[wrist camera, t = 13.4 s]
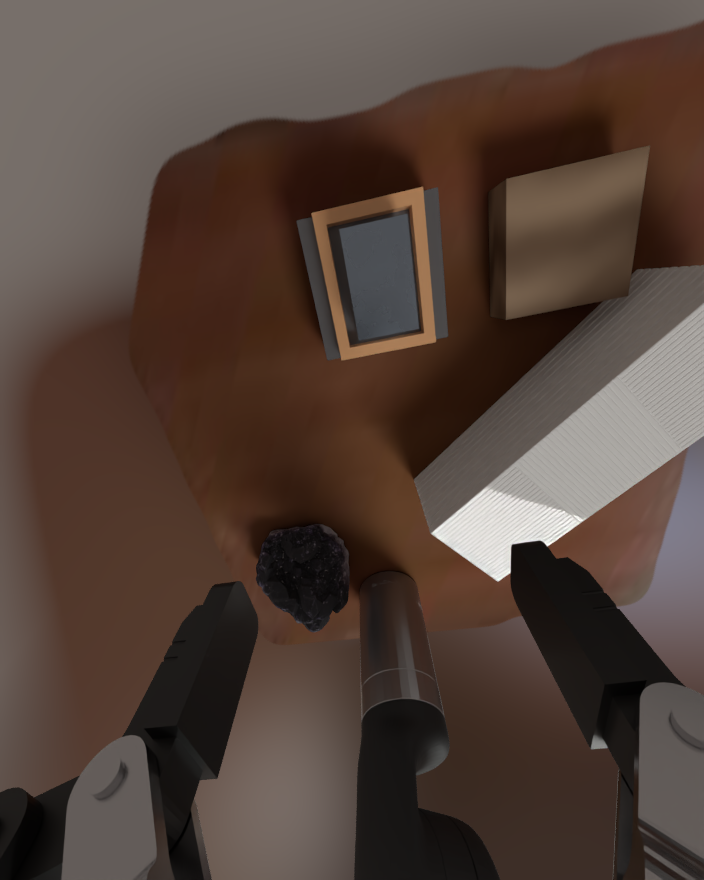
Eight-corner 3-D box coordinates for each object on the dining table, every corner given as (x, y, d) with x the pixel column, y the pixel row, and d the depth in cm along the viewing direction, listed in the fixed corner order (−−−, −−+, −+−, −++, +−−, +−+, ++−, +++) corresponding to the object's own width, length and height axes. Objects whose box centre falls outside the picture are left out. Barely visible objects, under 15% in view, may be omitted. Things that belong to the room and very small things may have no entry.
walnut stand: (598, 295, 34) (628, 295, 30) (490, 316, 35) (506, 319, 31) (613, 163, 29) (650, 145, 26) (488, 192, 30) (506, 178, 27)
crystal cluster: (265, 508, 47) (235, 565, 38) (360, 525, 46) (353, 587, 37) (264, 572, 53) (239, 633, 44) (348, 587, 53) (339, 652, 44)
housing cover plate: (403, 219, 25) (407, 213, 24) (414, 326, 29) (419, 328, 27) (340, 233, 26) (339, 229, 24) (358, 337, 29) (358, 340, 27)
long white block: (635, 269, 33) (752, 261, 23) (688, 339, 36) (813, 358, 26) (413, 478, 44) (430, 533, 34) (467, 519, 46) (498, 581, 37)
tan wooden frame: (438, 331, 35) (452, 338, 30) (330, 353, 37) (326, 363, 32) (427, 199, 31) (442, 182, 26) (303, 228, 32) (293, 217, 27)
